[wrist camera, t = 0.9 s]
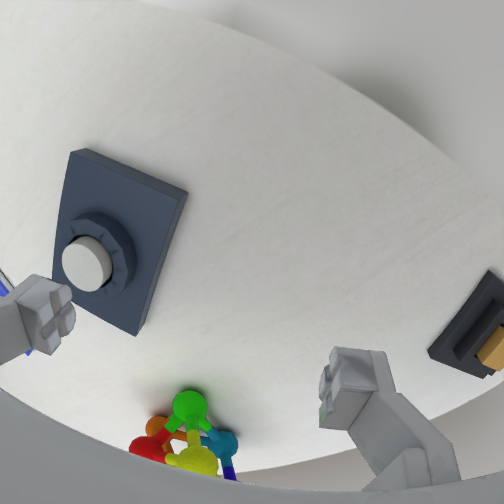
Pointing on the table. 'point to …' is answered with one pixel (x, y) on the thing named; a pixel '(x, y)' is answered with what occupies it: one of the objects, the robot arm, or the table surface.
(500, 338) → the tan square block
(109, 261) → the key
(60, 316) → the robot arm
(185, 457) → the molecular model
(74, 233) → the push button box
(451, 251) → the table surface
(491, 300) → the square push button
